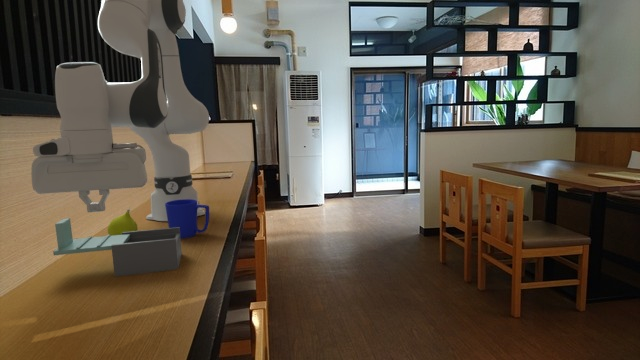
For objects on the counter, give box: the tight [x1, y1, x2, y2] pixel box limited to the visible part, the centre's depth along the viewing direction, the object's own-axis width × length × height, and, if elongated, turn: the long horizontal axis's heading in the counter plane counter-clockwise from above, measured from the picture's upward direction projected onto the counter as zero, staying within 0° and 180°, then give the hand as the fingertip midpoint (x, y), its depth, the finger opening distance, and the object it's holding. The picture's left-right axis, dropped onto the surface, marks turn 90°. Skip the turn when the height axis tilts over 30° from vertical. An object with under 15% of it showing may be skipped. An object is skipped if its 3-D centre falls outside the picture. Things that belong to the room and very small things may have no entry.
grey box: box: [111, 227, 183, 278], centre depth 82 cm, size 10×12×7 cm
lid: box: [52, 218, 130, 256], centre depth 78 cm, size 8×12×6 cm
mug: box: [165, 199, 210, 239], centre depth 103 cm, size 8×12×10 cm
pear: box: [107, 207, 139, 236], centre depth 101 cm, size 7×7×10 cm
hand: (96, 211), depth 78 cm, fingers closed
